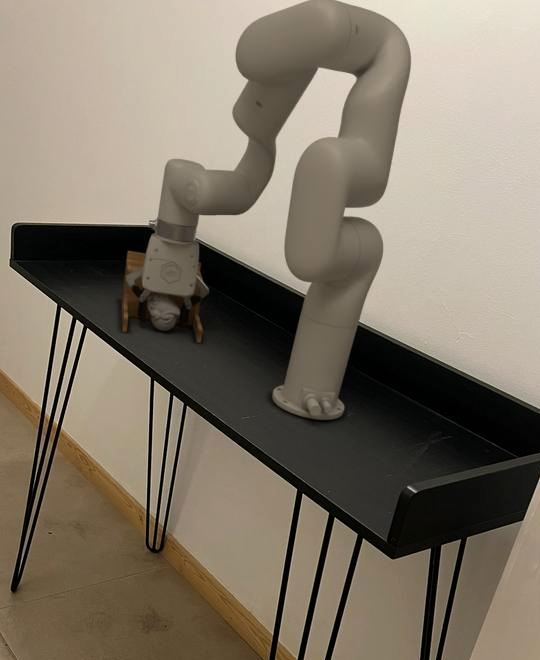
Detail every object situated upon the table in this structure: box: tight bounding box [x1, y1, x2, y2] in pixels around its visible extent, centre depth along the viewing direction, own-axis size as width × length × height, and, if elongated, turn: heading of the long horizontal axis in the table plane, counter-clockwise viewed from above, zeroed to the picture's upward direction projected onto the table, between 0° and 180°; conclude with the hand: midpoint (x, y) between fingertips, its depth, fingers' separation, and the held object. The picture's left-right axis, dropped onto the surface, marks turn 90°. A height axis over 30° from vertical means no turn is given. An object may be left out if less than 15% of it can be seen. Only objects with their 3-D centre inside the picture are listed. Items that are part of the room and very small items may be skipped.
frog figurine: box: [147, 293, 180, 332], centre depth 164 cm, size 6×7×7 cm
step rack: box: [120, 250, 205, 344], centre depth 168 cm, size 20×15×10 cm
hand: (161, 322), depth 165 cm, fingers open, 7 cm apart
